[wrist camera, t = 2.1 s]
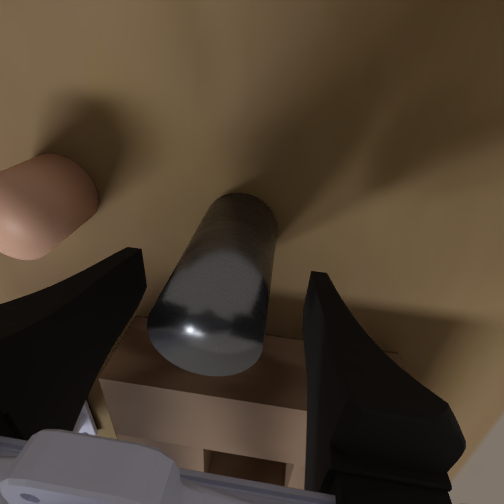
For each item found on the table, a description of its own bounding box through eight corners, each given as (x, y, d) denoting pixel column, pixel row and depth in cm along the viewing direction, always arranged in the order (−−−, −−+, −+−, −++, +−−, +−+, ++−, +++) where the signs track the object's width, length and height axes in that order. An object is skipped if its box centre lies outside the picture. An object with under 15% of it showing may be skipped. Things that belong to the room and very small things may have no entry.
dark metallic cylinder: (205, 253, 19) (152, 367, 12) (204, 189, 16) (140, 284, 10) (272, 262, 18) (258, 383, 12) (281, 197, 16) (269, 302, 10)
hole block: (159, 446, 32) (138, 506, 28) (135, 316, 22) (98, 378, 18) (339, 477, 31) (345, 544, 27) (398, 354, 21) (423, 429, 17)
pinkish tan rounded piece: (39, 218, 19) (-16, 255, 15) (16, 149, 17) (-54, 175, 13) (104, 225, 19) (62, 264, 15) (90, 157, 16) (37, 185, 13)
